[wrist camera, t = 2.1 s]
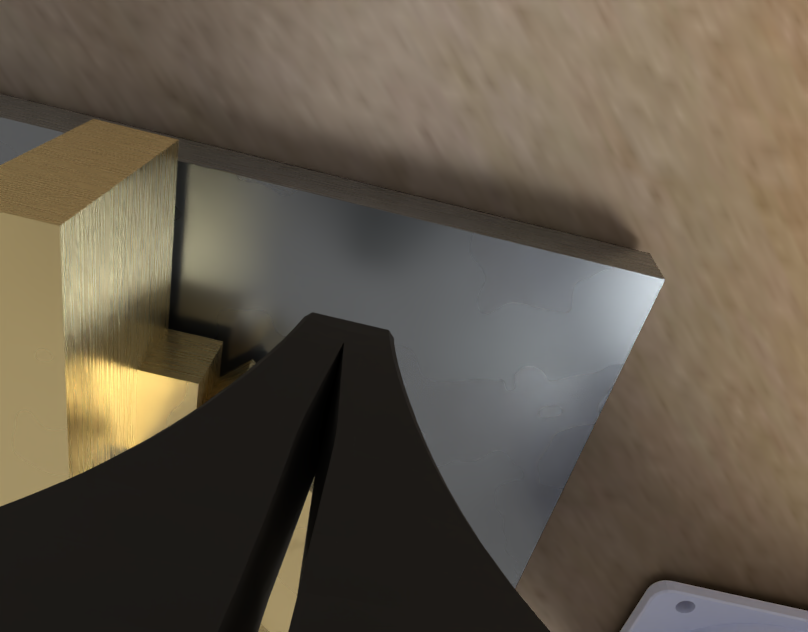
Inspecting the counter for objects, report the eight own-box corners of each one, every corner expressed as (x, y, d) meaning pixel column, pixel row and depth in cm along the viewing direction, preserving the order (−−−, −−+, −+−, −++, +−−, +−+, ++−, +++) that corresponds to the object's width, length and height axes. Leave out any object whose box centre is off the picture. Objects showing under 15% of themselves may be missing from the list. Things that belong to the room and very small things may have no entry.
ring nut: (311, 678, 19) (279, 840, 16) (-69, 600, 19) (-189, 749, 15) (442, 204, 12) (434, 315, 8) (-185, 49, 11) (-468, 101, 8)
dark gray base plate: (649, 253, 14) (714, 361, 10) (433, 720, 23) (428, 863, 19) (-353, 6, 13) (-660, 33, 9) (-163, 598, 22) (-281, 724, 18)
